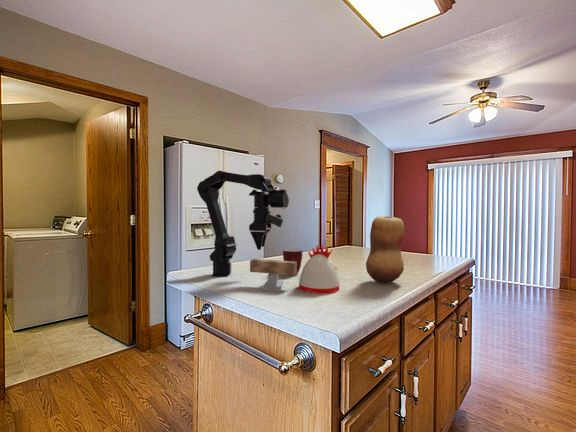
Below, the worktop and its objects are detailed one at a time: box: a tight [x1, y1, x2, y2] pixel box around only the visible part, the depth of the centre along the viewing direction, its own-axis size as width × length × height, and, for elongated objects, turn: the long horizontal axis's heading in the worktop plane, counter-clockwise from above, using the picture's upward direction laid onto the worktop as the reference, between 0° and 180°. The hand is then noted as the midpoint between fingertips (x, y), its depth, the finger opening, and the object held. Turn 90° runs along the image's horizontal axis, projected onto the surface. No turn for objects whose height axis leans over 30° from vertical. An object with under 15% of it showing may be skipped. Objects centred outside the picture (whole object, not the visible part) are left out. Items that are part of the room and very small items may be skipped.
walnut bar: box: [249, 258, 298, 276], centre depth 108 cm, size 16×4×4 cm, turn 74°
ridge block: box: [261, 273, 284, 292], centre depth 108 cm, size 6×12×5 cm, turn 177°
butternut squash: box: [365, 215, 405, 284], centre depth 116 cm, size 14×13×25 cm
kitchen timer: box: [298, 244, 340, 295], centre depth 107 cm, size 14×14×15 cm
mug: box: [282, 248, 303, 276], centre depth 128 cm, size 10×8×10 cm
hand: (261, 248), depth 119 cm, fingers open, 9 cm apart
